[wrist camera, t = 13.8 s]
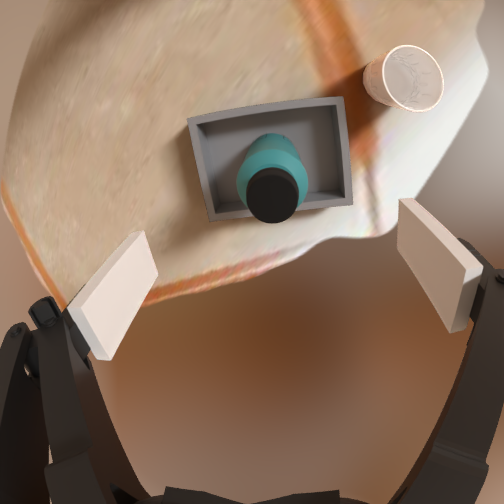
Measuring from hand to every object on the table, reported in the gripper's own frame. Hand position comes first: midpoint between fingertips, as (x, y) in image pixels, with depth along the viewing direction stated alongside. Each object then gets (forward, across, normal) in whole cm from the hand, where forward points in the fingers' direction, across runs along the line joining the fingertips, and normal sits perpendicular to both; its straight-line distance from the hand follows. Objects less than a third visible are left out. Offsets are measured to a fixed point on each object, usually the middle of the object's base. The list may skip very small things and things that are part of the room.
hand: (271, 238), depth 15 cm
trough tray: (+29, 0, -1) cm, 29 cm away
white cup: (+29, +17, +8) cm, 35 cm away
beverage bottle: (+28, 0, -1) cm, 28 cm away
